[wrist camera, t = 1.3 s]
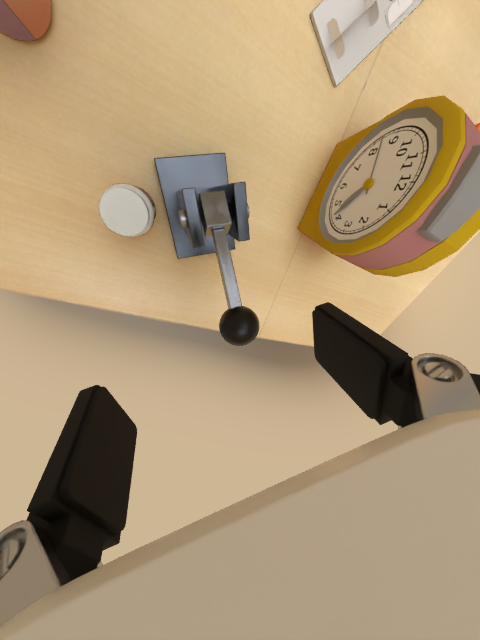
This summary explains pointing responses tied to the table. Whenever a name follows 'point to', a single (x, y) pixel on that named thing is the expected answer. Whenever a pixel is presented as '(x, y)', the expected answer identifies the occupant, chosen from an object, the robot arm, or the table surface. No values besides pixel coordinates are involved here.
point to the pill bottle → (127, 210)
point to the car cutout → (355, 30)
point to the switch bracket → (183, 200)
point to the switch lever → (227, 270)
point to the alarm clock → (400, 190)
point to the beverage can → (24, 18)
